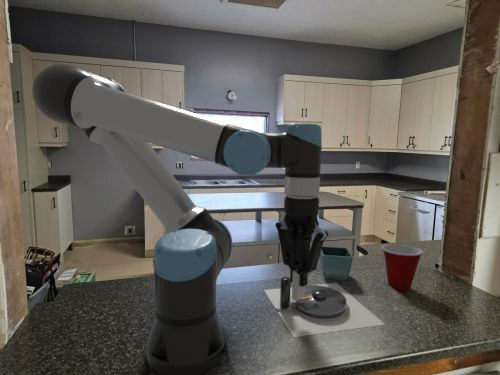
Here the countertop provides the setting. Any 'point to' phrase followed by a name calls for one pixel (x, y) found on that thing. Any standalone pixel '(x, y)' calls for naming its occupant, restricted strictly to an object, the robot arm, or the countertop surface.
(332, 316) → the dial
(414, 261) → the plastic cup
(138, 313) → the countertop surface
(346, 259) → the flower pot
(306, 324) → the panel
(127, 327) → the countertop surface
